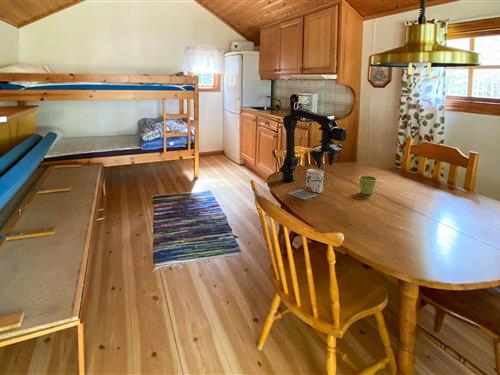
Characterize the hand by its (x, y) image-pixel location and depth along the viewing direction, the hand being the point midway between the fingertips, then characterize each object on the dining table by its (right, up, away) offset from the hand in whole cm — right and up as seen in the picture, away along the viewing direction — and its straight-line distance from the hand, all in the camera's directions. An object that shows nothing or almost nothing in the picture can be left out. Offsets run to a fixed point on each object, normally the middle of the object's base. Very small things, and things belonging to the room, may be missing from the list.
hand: (324, 166), depth 203 cm
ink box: (-6, -14, +1) cm, 15 cm away
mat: (-13, -15, -4) cm, 20 cm away
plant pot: (+22, -15, -3) cm, 27 cm away
